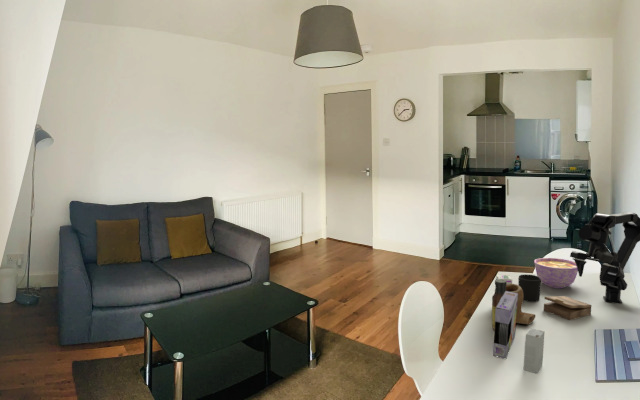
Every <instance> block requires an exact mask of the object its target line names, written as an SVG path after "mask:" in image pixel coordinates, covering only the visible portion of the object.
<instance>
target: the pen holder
mask: <svg viewBox="0 0 640 400" xmlns="http://www.w3.org/2000/svg"><path fill="white" fill-rule="evenodd" d="M517 285H519V286H520V287H521V288H522V290H523V302H524V301H525V302H531V303H533V302H539V301H540V298H541V297H540V296H541V288H542V287H541V286H542V282H541V279H540V278H539V277H538V276H537V275H534V274H520V275H518V284H517Z"/></svg>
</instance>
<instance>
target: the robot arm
mask: <svg viewBox="0 0 640 400" xmlns="http://www.w3.org/2000/svg"><path fill="white" fill-rule="evenodd" d="M618 224H619V225H620V224H622V227H623V229H624V230H623V233H624V234H623V235H624V238H623V241H622V242H621V245H620V247H619V248H618V250H617V252H614V251H611V252H610V251H609V247H607V242H608V238H609V235H612V232H611V230H610V229H612V228H615V227H616V225H618ZM578 237H579V238H580V239H581V240H583V241H587V242H588V243H587V244H588V245H587V246H589V249H588V252H586V253H585V252H579V251H575V250H572V251H571V252H570V255H569V258H570V257H571V258H572V260H573V262H575V263H576V266H577V269H578V272H577V274H578V277H582V276H583V273H584V270H585V269H584V268H585V265H586V264H587V261H586V260H588V261H593V262H598V263H601V264H600V273H599V282H600V286H603V287H605V293H604V295H603V296H602V298H603V300H604V302H606V303H614V304H623V301H622V299H621V295H622V291H625V290H626V289H627V287H628V283H627V282H626V280H625V277H626V276H625V271H624V270H625V267H626V265H627V263H628V261H629V259H630V258H631V255H632V253H633V251H634V249H635V247H636V245H637V244H638V243H639V242H640V217H639V215H638V214H637V213H636V212H629V211H624V212H619V213H613V214H605V213H604V214H603V213H594V215H593V217H591V219H590V220H589V222H588V223H585V224H584V226H583V227H581V228H580V229H579V230H578ZM589 242H590V243H589Z"/></svg>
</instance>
